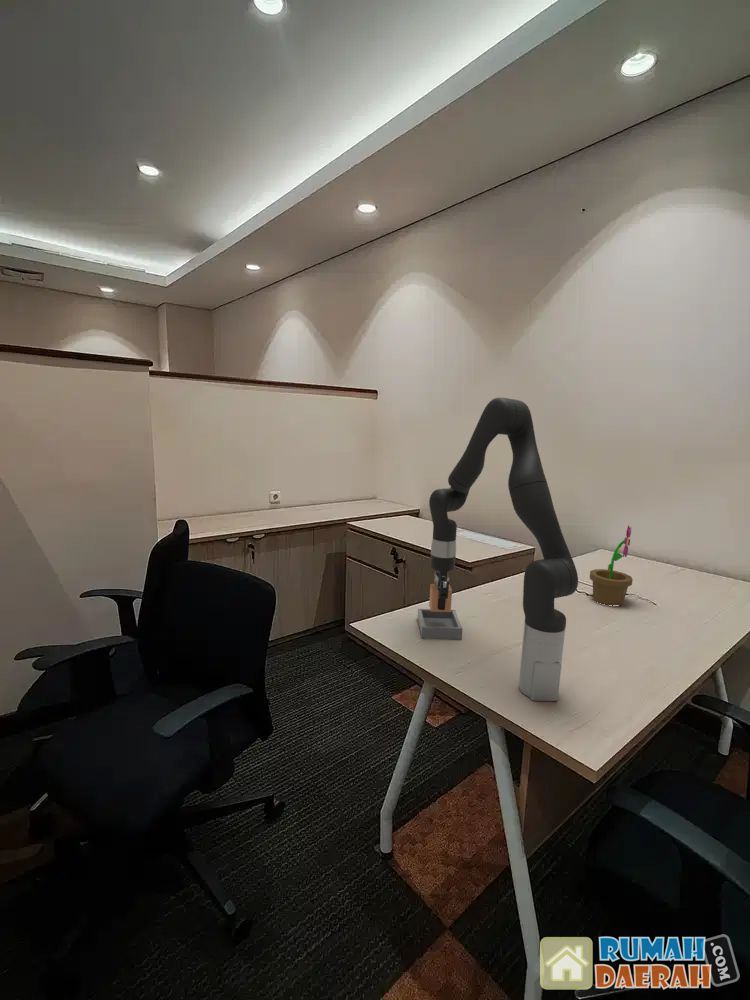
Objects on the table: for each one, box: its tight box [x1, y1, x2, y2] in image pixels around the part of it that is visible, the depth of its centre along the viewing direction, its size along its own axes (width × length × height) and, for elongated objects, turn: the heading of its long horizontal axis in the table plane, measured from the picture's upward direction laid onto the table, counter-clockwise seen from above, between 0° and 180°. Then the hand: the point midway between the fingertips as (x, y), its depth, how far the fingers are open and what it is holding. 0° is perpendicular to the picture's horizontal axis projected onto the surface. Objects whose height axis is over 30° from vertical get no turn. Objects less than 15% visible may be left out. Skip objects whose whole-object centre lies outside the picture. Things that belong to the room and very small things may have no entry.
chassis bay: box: [417, 608, 463, 641], centre depth 147 cm, size 14×12×4 cm
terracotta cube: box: [428, 583, 453, 612], centre depth 146 cm, size 5×6×7 cm
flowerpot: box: [589, 524, 633, 606], centre depth 173 cm, size 14×14×30 cm
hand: (439, 605), depth 147 cm, fingers closed on terracotta cube, 5 cm apart
